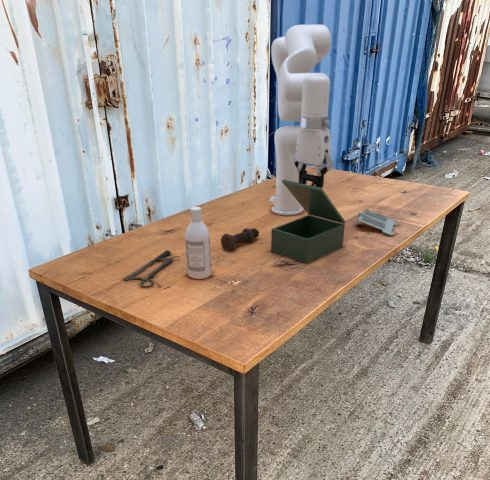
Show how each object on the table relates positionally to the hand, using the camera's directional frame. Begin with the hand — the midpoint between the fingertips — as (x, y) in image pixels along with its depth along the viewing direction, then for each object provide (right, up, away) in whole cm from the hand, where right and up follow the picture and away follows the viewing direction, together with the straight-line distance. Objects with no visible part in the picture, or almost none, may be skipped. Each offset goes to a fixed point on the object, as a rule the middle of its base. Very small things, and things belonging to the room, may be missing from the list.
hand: (310, 185), depth 154 cm
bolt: (-21, -16, +15) cm, 30 cm away
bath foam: (-33, -28, -6) cm, 44 cm away
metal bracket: (+27, -7, +28) cm, 39 cm away
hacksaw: (-46, -26, -2) cm, 53 cm away
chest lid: (+1, -4, +4) cm, 6 cm away
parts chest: (0, -18, +11) cm, 21 cm away
